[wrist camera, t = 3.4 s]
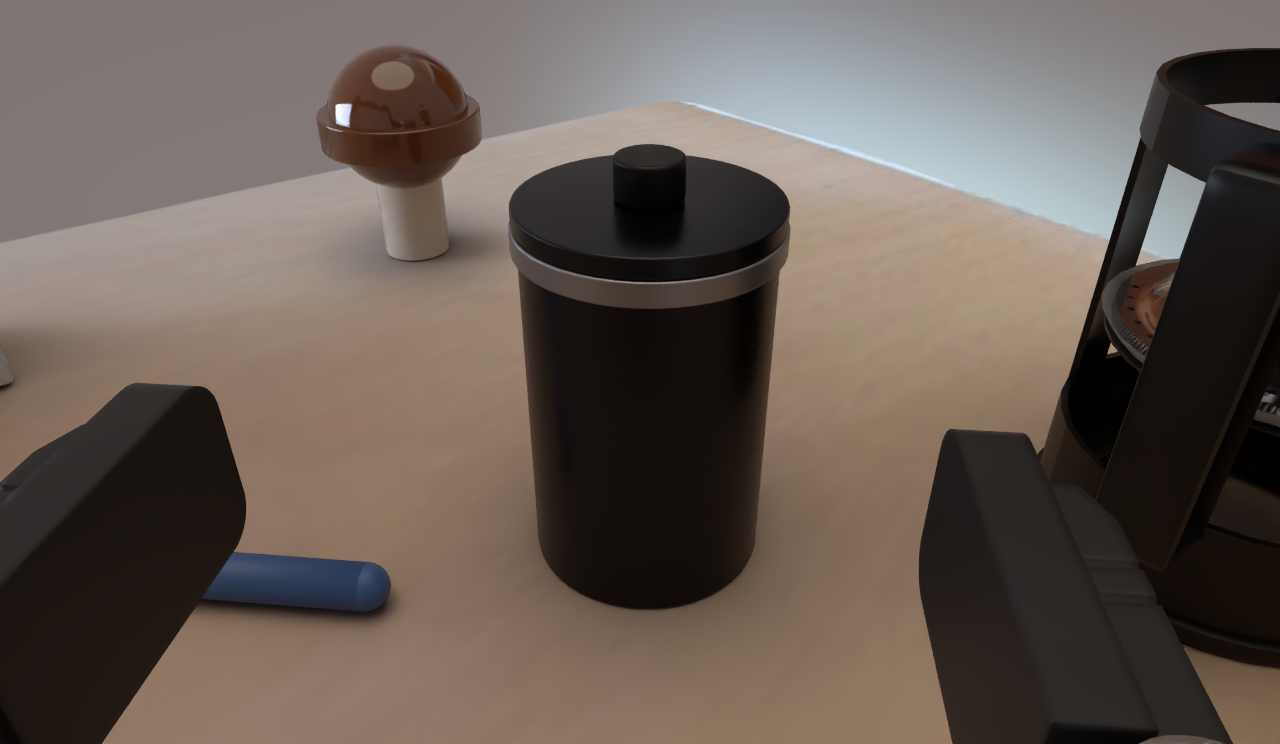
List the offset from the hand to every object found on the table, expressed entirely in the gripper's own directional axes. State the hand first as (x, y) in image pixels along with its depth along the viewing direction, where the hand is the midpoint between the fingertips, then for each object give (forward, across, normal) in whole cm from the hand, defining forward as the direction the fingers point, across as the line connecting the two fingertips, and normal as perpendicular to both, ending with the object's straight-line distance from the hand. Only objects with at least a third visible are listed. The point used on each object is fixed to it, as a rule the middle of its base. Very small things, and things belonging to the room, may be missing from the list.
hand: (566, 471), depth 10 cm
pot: (+11, 0, +11) cm, 16 cm away
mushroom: (+29, +12, +11) cm, 33 cm away
